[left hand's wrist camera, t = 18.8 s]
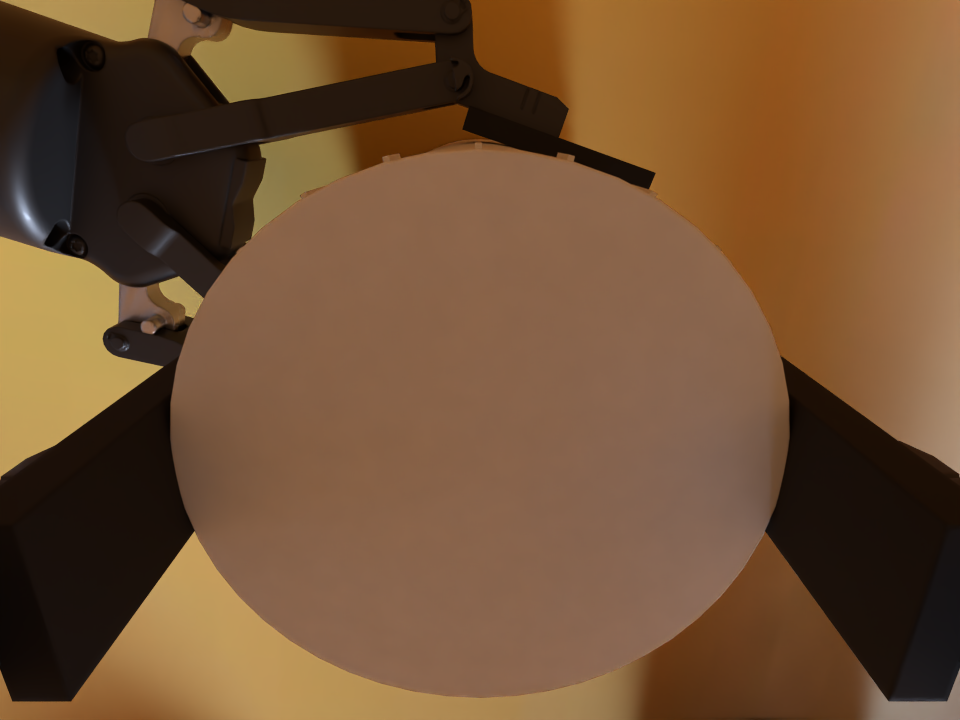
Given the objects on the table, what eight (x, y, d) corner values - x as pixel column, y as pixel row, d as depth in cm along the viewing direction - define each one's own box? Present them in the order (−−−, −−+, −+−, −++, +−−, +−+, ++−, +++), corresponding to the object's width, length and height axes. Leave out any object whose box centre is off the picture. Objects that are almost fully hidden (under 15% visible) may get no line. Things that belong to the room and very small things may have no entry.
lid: (98, 382, 12) (32, 424, 10) (540, -2, 9) (554, -33, 8) (441, 697, 15) (435, 772, 13) (840, 466, 12) (898, 520, 11)
